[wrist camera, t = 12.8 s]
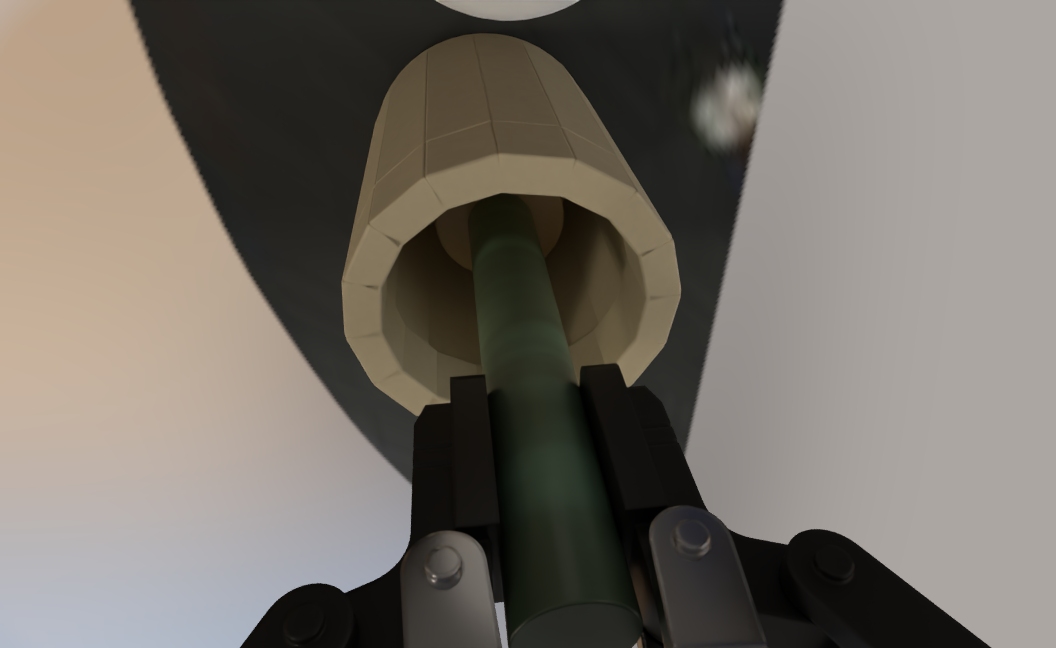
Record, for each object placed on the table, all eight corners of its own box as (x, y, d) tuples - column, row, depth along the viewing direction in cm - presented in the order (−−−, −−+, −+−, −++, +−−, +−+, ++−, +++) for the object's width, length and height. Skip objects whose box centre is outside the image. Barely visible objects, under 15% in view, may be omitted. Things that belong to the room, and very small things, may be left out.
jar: (432, -15, 21) (431, 84, 12) (632, 101, 24) (747, 247, 15) (343, 192, 25) (295, 381, 16) (526, 269, 28) (569, 462, 19)
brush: (464, 88, 21) (524, 531, 8) (564, 141, 23) (768, 590, 9) (416, 187, 23) (393, 687, 9) (511, 229, 25) (612, 714, 11)
